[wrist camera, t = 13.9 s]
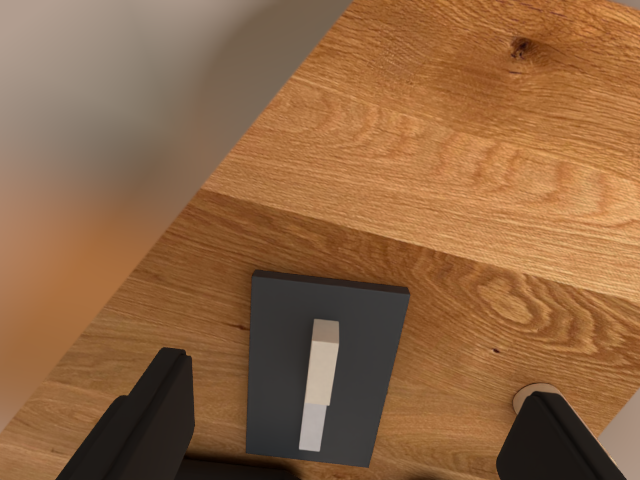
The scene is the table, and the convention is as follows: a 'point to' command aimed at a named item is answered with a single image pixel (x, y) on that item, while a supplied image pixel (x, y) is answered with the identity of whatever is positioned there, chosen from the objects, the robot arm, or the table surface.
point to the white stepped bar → (319, 382)
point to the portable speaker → (227, 472)
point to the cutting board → (293, 361)
